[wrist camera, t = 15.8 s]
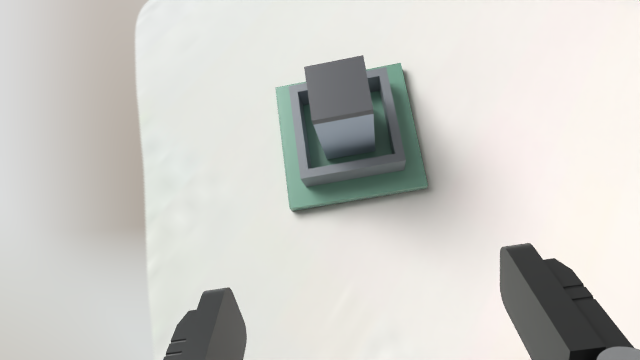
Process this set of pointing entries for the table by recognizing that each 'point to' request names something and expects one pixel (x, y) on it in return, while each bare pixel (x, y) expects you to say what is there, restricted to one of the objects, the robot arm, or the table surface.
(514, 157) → the table surface
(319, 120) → the block
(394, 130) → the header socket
